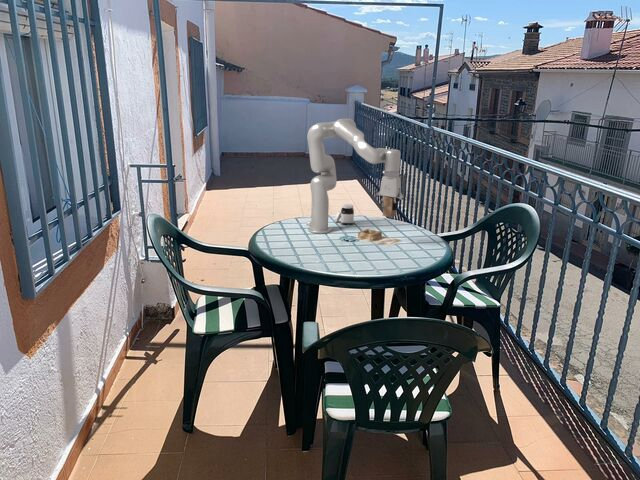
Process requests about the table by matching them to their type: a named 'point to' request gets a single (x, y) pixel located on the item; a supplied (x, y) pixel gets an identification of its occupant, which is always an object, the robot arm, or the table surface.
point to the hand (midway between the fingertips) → (389, 208)
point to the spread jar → (346, 215)
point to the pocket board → (376, 237)
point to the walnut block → (388, 207)
